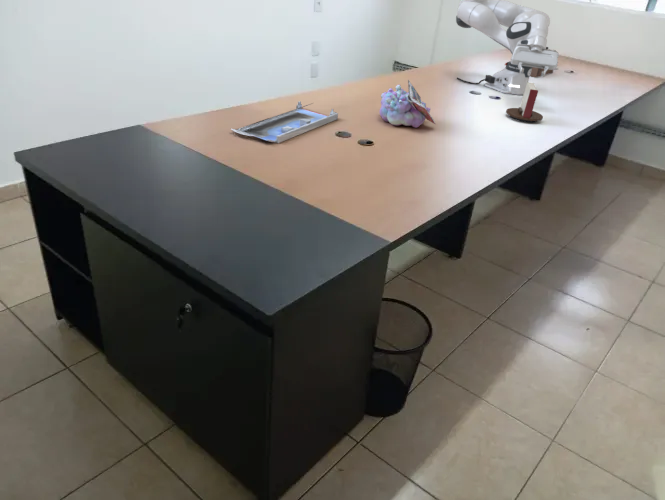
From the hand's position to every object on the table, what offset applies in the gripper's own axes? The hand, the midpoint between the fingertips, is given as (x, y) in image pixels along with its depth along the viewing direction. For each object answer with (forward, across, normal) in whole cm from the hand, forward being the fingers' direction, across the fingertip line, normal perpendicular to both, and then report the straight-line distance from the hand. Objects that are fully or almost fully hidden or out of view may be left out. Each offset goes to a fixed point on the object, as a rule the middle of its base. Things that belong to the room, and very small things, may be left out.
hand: (532, 74), depth 247 cm
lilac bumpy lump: (+44, +52, +20) cm, 71 cm away
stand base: (+20, 0, -4) cm, 20 cm away
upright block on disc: (+19, 0, -3) cm, 19 cm away
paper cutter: (+63, +94, +39) cm, 120 cm away
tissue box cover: (-58, -17, -82) cm, 102 cm away
